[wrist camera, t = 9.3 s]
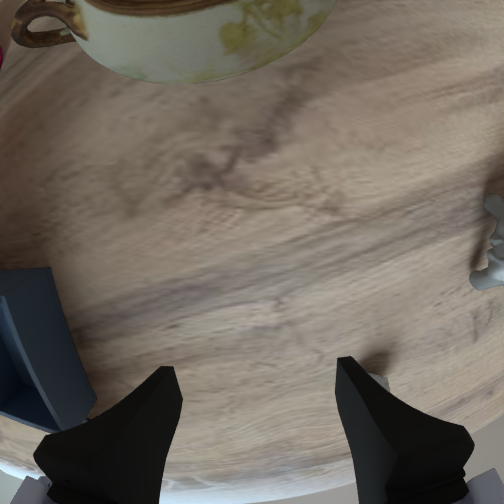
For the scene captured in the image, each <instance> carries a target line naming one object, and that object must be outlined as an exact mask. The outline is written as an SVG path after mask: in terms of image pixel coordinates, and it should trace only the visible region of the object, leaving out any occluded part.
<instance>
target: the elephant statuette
mask: <svg viewBox="0 0 504 504" xmlns="http://www.w3.org/2000/svg"><path fill="white" fill-rule="evenodd" d="M483 204H484V207H485V209H486V210H488V211H489V212H491V213H492V215H493V217H494V218H495V220H496V222H497V225H496V228H495V231H494V233H493V234H491V236H490V238H489V239H490V242H491V245H492V246H493V248H492V249H489V250H488V251H487V257H488V260H489V263H488V267H487V268H485V269H483V270H481V271H478V270H475V271H473V272H471V273H470V275H469V281H470V283H471V285H472V286H473V287H474V288H475V289H477V290H484V289H489V288H492V287H496V286H500V285H503V286H504V201H503V200H502V198H501V197H500V196H499V195H497V194H490V195H488V196H486V197H485V199H484V202H483Z"/></svg>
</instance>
